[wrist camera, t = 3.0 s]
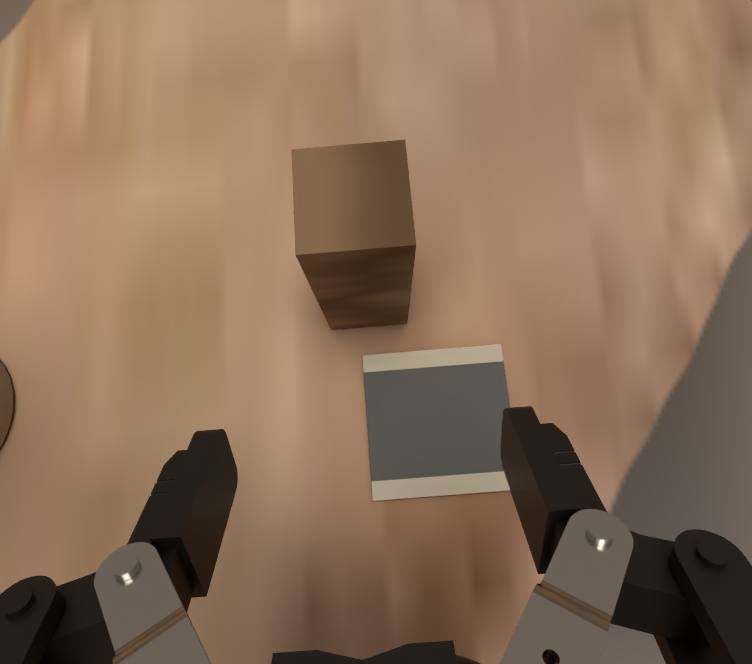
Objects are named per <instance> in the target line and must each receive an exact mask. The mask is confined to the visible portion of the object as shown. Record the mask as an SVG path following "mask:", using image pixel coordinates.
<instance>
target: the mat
mask: <svg viewBox="0 0 752 664" xmlns="http://www.w3.org/2000/svg"><path fill="white" fill-rule="evenodd" d="M363 369H364V383H365V397H366V411H367V425H368V440H369V454H370V468H371V482H372V497H373V501H378V500H391V499H404V498H417V497H430V496H443V495H456V494H469V493H482V492H495V491H507V490H510V488H509V485H508V482H507V479H506V476H505V473H504V470H503V466H502V461H501V453H500V446H501V432H502V418H503V410H504V409H505V408H510V405H509V398H508V391H507V384H506V377H505V370H504V363H503V355H502V348H501V344H496V345H484V346H472V347H459V348H447V349H435V350H422V351H410V352H398V353H386V354H373V355H363Z"/></svg>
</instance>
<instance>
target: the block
mask: <svg viewBox="0 0 752 664" xmlns="http://www.w3.org/2000/svg"><path fill="white" fill-rule="evenodd" d="M292 172H293V198H294V225H295V252H296V257H297V259H298V261H299V263H300V265H301V267H302V269H303V271H304V274H305V276H306V278H307V280H308V282H309V284H310V286H311V288H312V290H313V292H314V294H315V297H316V299H317V301H318V303H319V305H320V307H321V309H322V311H323V313H324V315H325V318H326V320H327V322H328V324H329V326H330V328H331V329H342V328H354V327H366V326H379V325H391V324H403V323H407V320H408V311H409V302H410V294H411V285H412V276H413V267H414V259H415V250H416V240H415V230H414V220H413V211H412V201H411V192H410V182H409V172H408V163H407V153H406V144H405V140H398V141H386V142H374V143H363V144H351V145H339V146H328V147H316V148H305V149H293V150H292Z"/></svg>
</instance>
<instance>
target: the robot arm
mask: <svg viewBox="0 0 752 664" xmlns="http://www.w3.org/2000/svg"><path fill="white" fill-rule="evenodd" d="M12 413H13V390H12V385H11V381H10V377H9V375H8V373H7V371H6V369H5V367H4V365H3V364H2V363H1V361H0V447H1V445H2V444H3V441H4V439H5V437H6V434H7V432H8V429H9V427H10V423H11V418H12ZM500 453H501V461H502V466H503V470H504V473H505V476H506V479H507V482H508V485H509V488H510V491H511V494H512V497H513V500H514V503H515V506H516V509H517V512H518V515H519V518H520V521H521V524H522V527H523V530H524V533H525V536H526V539H527V542H528V545H529V548H530V551H531V554H532V557H533V560H534V563H535V566H536V569H537V572H538V574H545V575H544V578H543V580H542V582H541V583H540V584H537V585H536V586H535V588H534V590H533V592H532V594H531V596H530V598H529V600H528V603H527V605H526V607H525V609H524V611H523V614H522V616H521V618H520V620H519V623H518V625H517V627H516V629H515V632H514V634H513V636H512V638H511V640H510V643H509V645H508V647H507V649H506V652H505V654H504V656H503V658H502V660H501V663H500V664H598V663H599V660H600V656H601V653H602V650H603V646H604V643H605V640H606V636H607V633H608V630H609V626H610V623H611V624H615V625H619V626H623V627H626V628H630V629H635V630H638V631H642V632H646V633H650V634H653V635H654V637H655V639H656V641H657V644H658V646H659V649H660V651H661V653H662V655H663V658H664V660H665V662H666V664H752V566H751V565H750V563H749V562H748V560H747V559H746V557H745V556H744V555H743V553H742V552H741V551H740V550H739V549H738V548H737V547H736V546H735V545H734V544H732V543H731V542H730V541H728V540H727V539H725V538H723V537H721V536H719V535H717V534H715V533H712V532H708V531H705V530H696V529H695V530H687V531H684V532H682V533H681V534H679V535H678V536H677V538H676V539H675V542H673V541H668V540H663V539H658V538H653V537H648V536H644V535H640V534H637V533H635V532H632V531H630V530H629V529H628V528H627V526H626V525H625V524H624V523H623V522H622V521H621V520H619V519H618V518H617V517H615V516H614V515H612V514H610V513H608V512H607V511H606V509H605V508H604V506H603V504H602V502H601V500H600V498H599V496H598V494H597V492H596V490H595V489H594V487H593V485H592V483H591V481H590V479H589V477H588V475H587V473H586V471H585V470H584V468H583V466H582V465H581V463H580V460H579V458H578V456H577V454H576V453H575V452H574V449H573V447H572V445H571V443H570V441H569V439H568V437H567V435H566V434H564V433H563V432H562V431H561V430H560V429H559V428H557V427H556V426H555V425H554V424H553V423H546V424H540V422H539V420H538V418H537V416H536V414H535V412H534V410H533V408H532V407H531V406H527V407H514V408H505V409H504V410H503V418H502V432H501V446H500ZM237 479H238V477H237V467H236V464H235V461H234V457H233V454H232V451H231V448H230V444H229V441H228V438H227V435H226V432H225V431H224V430H223V429H218V430H205V431H196V432H195V433H194V435H193V437H192V440H191V442H190V444H189V447H188V449H187V450H181V451H177V452H176V453H175V454H174V455H173V456H172V457H171V458H170V459H169V460H168V461H167V463H166V464H165V465H164V466H163V469H162V471H161V473H160V475H159V477H158V479H157V483H156V484H155V486H154V488H153V490H152V492H151V496H150V497H149V499H148V501H147V503H146V505H145V507H144V510H143V512H142V514H141V516H140V518H139V520H138V522H137V525H136V527H135V529H134V531H133V533H132V535H131V537H130V540H129V542H128V544H127V545H125V546H123V547H121V548H119V549H117V550H116V551H114V552H113V553H112V554H110V555H109V556H108V557H107V558H106V559H105V560H104V561H103V562H102V564H101V565H100V567H99V568H98V570H97V572H95V573H93V574H90V575H88V576H85V577H82V578H79V579H77V580H74V581H71V582H68V583H65V584H62V585H60V586H56V584H55V583H54V582H53V580H52V579H51V578H49V577H46V576H33V577H29V578H26V579H23V580H21V581H19V582H17V583H15V584H14V585H12V586H11V587H9V588H8V589H6V590H5V591H4V592H3V593H1V594H0V664H211V663H210V661H209V659H208V656H207V654H206V652H205V650H204V648H203V646H202V644H201V642H200V640H199V637H198V635H197V633H196V631H195V629H194V627H193V625H192V623H191V620H190V618H189V616H188V614H187V610H188V607H189V603H190V600H191V597H205V596H207V593H208V589H209V586H210V582H211V578H212V575H213V571H214V568H215V564H216V560H217V557H218V553H219V550H220V546H221V542H222V539H223V535H224V532H225V528H226V524H227V521H228V517H229V514H230V510H231V506H232V503H233V499H234V496H235V492H236V488H237ZM271 664H480V663H478V662H476V661H474V660H471V659H468V658H465V657H462V656H457V655H455V650H454V643H453V641H440V642H426V643H412V644H406V645H404V646H401V647H398V648H395V649H393V650H390V651H387V652H384V653H382V654H379V655H376V656H373V657H371V658H368V659H363V660H360V659H355V658H350V657H346V656H341V655H337V654H332V653H328V652H323V651H319V650H312V651H297V652H283V653H273V656H272V663H271Z"/></svg>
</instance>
